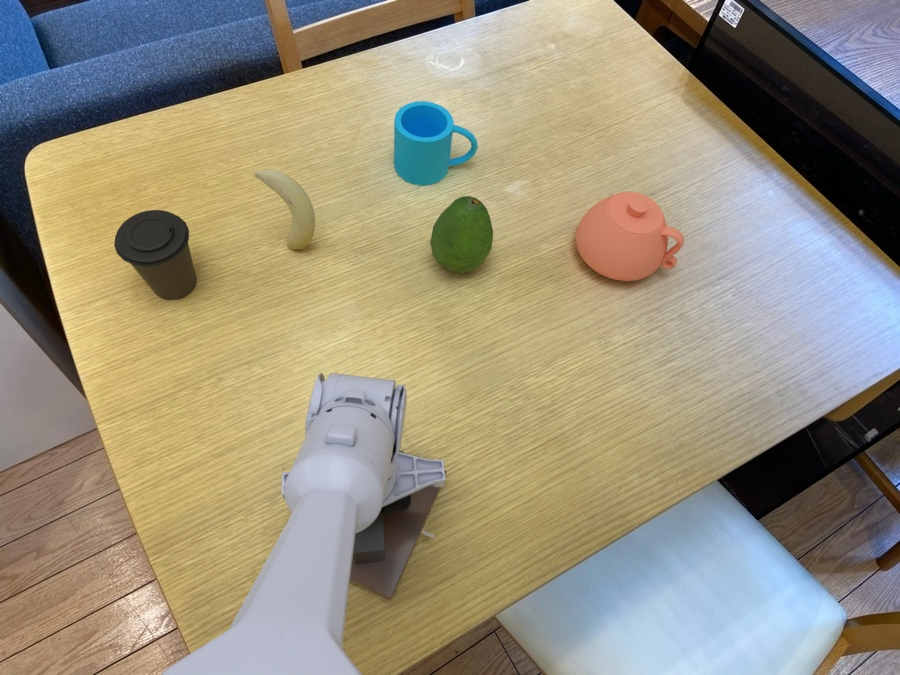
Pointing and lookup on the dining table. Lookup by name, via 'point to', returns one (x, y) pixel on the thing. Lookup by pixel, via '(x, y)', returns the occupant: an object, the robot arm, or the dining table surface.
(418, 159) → the mug
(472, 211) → the fruit
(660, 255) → the sugar bowl
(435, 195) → the dining table surface
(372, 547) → the gray bar
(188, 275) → the coffee cup
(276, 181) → the fruit
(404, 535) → the brown pegged board
